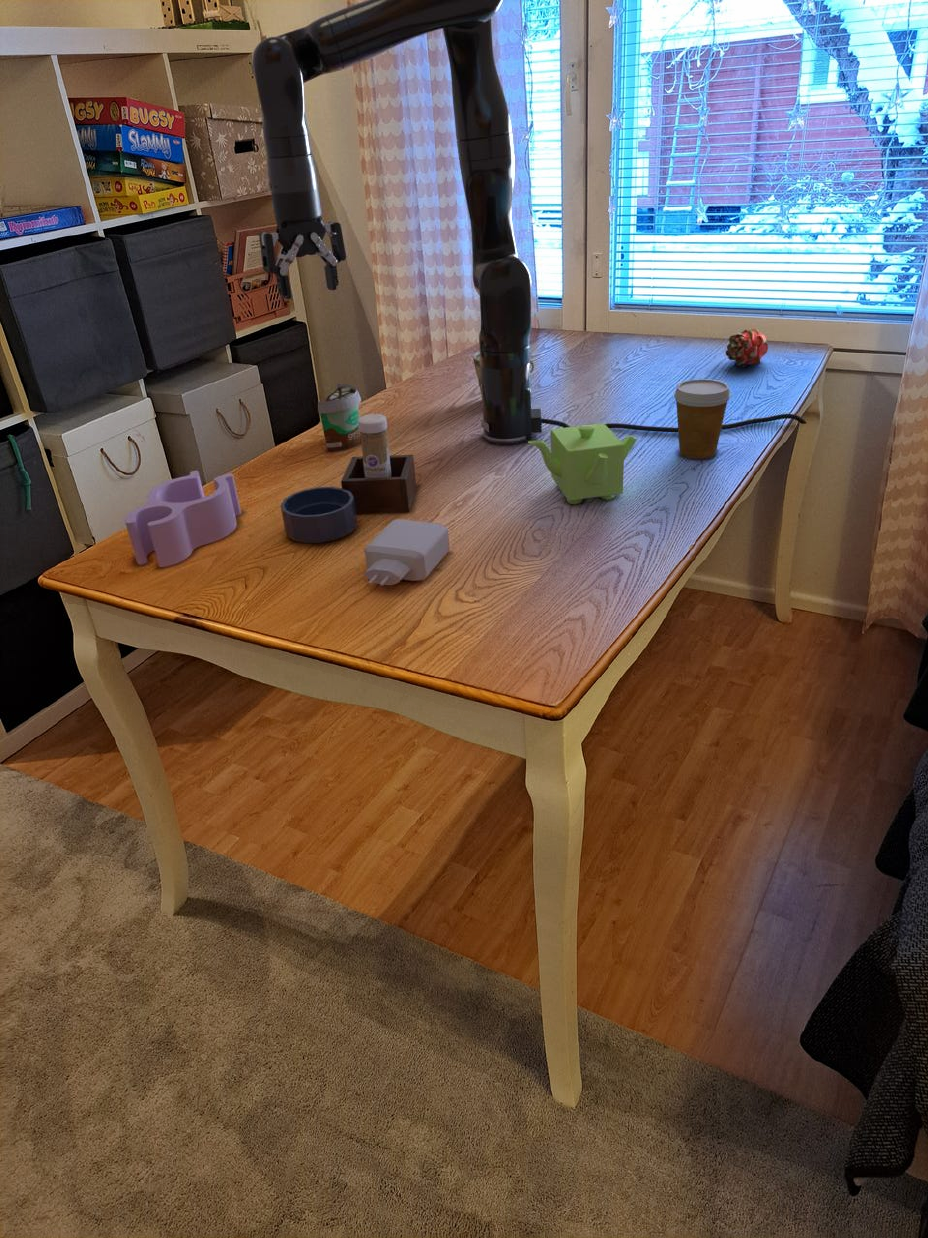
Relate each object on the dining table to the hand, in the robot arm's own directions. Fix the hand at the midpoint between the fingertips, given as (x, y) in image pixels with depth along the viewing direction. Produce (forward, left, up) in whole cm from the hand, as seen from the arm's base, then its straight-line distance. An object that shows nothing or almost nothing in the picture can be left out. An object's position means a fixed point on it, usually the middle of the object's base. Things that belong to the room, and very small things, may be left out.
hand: (310, 293), depth 149 cm
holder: (-11, +18, -30) cm, 37 cm away
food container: (-1, -10, -30) cm, 32 cm away
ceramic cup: (-31, -31, -30) cm, 53 cm away
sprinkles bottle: (-11, +18, -30) cm, 36 cm away
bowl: (-3, +29, -30) cm, 42 cm away
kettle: (-45, +18, -30) cm, 57 cm away
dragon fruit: (-85, -51, -30) cm, 104 cm away
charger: (-18, +44, -30) cm, 56 cm away
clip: (+18, +30, -30) cm, 46 cm away
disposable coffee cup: (-66, +2, -30) cm, 73 cm away
